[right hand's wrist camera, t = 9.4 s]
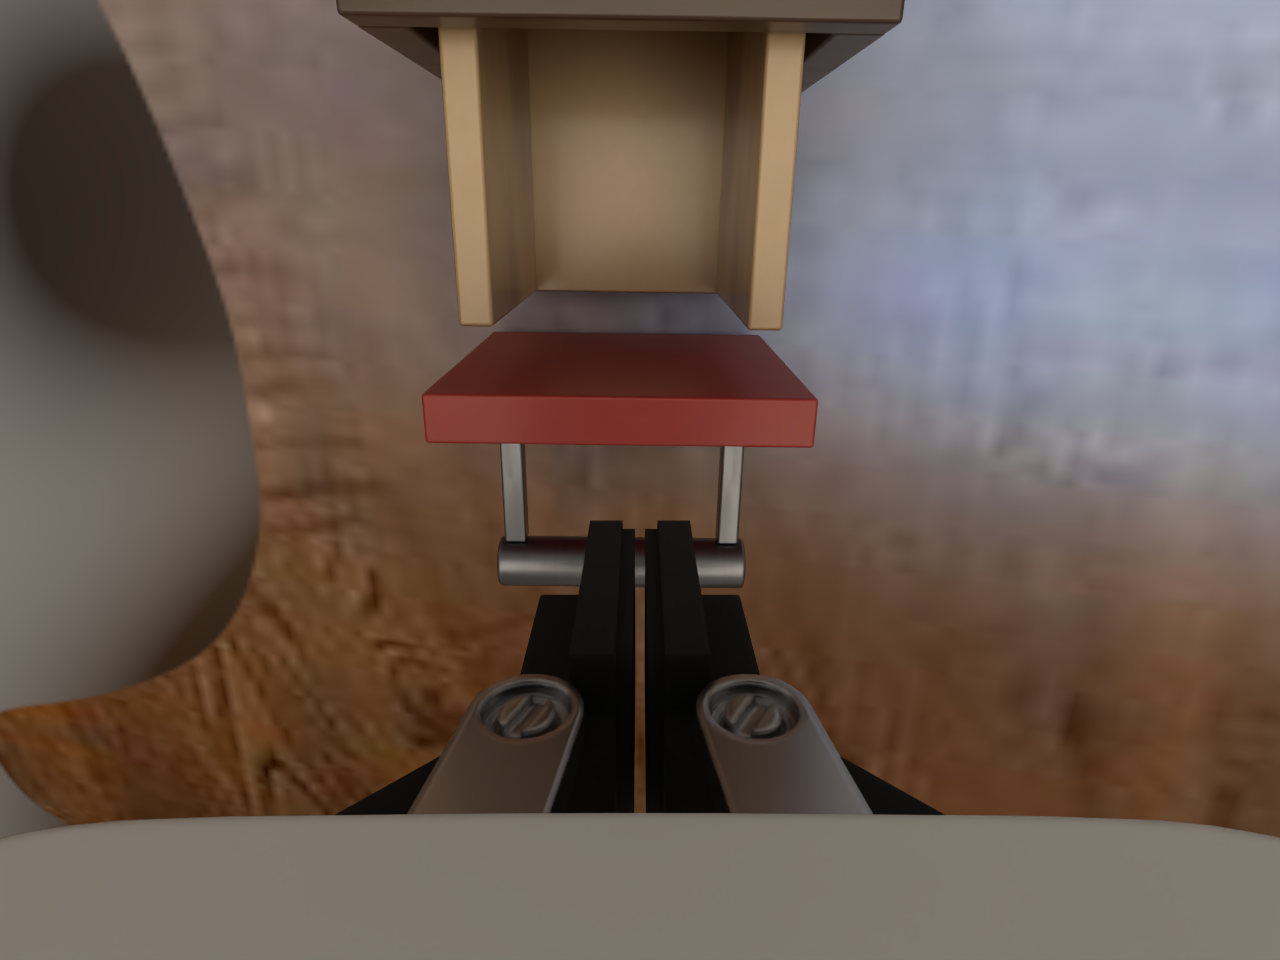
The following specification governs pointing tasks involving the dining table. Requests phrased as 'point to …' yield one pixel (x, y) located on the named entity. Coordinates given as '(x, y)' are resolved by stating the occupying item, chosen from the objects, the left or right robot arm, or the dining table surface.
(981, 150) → the dining table surface
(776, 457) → the dining table surface
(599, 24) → the cabinet
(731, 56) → the drawer
